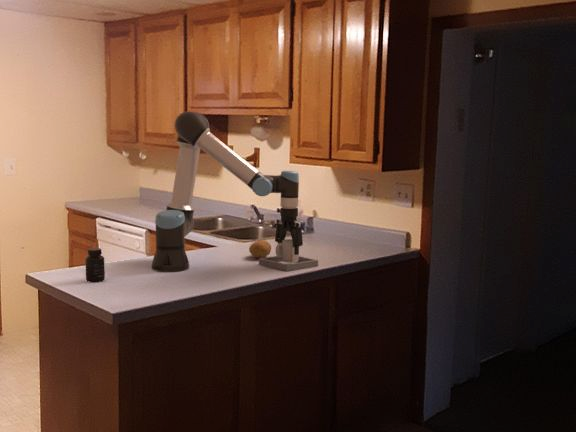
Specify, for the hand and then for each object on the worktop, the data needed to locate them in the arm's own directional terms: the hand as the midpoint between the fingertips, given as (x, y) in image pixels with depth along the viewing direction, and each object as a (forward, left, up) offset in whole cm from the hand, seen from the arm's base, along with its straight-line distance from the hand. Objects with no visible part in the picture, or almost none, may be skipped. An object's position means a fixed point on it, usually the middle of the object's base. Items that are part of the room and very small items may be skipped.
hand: (288, 260), depth 279 cm
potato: (+1, +20, -2) cm, 20 cm away
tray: (0, 0, -2) cm, 2 cm away
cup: (0, +1, -1) cm, 1 cm away
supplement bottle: (-77, +23, -2) cm, 80 cm away
